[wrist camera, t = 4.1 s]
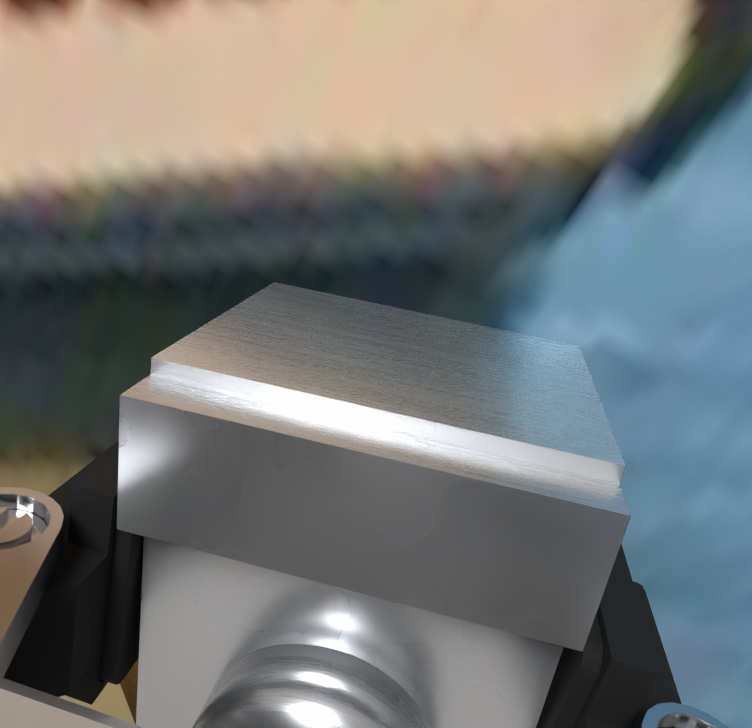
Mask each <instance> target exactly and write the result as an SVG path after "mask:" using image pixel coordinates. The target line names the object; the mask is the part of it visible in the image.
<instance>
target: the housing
mask: <svg viewBox="0 0 752 728" xmlns="http://www.w3.org/2000/svg"><path fill="white" fill-rule="evenodd" d="M624 469H625V463H624V460H623V458H622V455H621V453H620V450H619V447H618V445H617V442H616V440H615V437H614V434H613V432H612V429H611V427H610V424H609V421H608V419H607V416H606V414H605V411H604V408H603V406H602V403H601V401H600V398H599V395H598V393H597V390H596V388H595V385H594V382H593V380H592V377H591V375H590V372H589V370H588V367H587V364H586V362H585V359H584V357H583V354H582V351H581V349H580V346H577V345H573V344H568V343H563V342H558V341H553V340H549V339H544V338H539V337H534V336H529V335H525V334H520V333H515V332H510V331H505V330H501V329H496V328H491V327H486V326H481V325H477V324H472V323H467V322H462V321H457V320H453V319H448V318H443V317H438V316H434V315H429V314H424V313H419V312H414V311H410V310H405V309H400V308H395V307H390V306H386V305H381V304H376V303H371V302H366V301H362V300H357V299H352V298H347V297H342V296H338V295H333V294H328V293H323V292H318V291H314V290H309V289H304V288H299V287H295V286H290V285H285V284H280V283H275V282H274V283H272V284H271V285H269V286H267V287H266V288H264V289H262V290H261V291H259V292H258V293H256V294H254V295H253V296H251V297H249V298H248V299H246V300H245V301H243V302H241V303H240V304H238V305H236V306H235V307H233V308H231V309H230V310H228V311H227V312H225V313H223V314H222V315H220V316H218V317H217V318H215V319H214V320H212V321H210V322H209V323H207V324H205V325H204V326H202V327H200V328H199V329H197V330H196V331H194V332H192V333H191V334H189V335H187V336H186V337H184V338H183V339H181V340H179V341H178V342H176V343H174V344H173V345H171V346H169V347H168V348H166V349H165V350H163V351H161V352H160V353H158V354H156V355H155V356H153V357H152V358H151V375H150V376H148V377H146V378H145V379H143V380H142V381H140V382H139V383H137V384H136V385H134V386H133V387H131V388H130V389H128V390H127V391H125V392H124V393H122V394H121V395H120V418H119V459H118V500H117V529H118V530H122V531H126V532H130V533H134V534H137V535H141V536H144V544H143V568H142V591H141V615H140V639H139V662H138V686H137V709H136V725H138V726H141V727H144V728H536V726H537V723H538V720H539V717H540V714H541V712H542V709H543V706H544V703H545V700H546V697H547V694H548V691H549V688H550V685H551V682H552V679H553V676H554V674H555V671H556V668H557V665H558V662H559V659H560V656H561V653H562V650H563V647H567V648H571V649H574V650H578V651H582V652H583V649H584V646H585V643H586V641H587V638H588V635H589V632H590V629H591V627H592V624H593V621H594V618H595V615H596V613H597V610H598V607H599V604H600V601H601V599H602V596H603V593H604V590H605V587H606V584H607V582H608V579H609V576H610V573H611V570H612V568H613V565H614V562H615V559H616V556H617V554H618V551H619V548H620V545H621V542H622V540H623V537H624V534H625V531H626V528H627V526H628V523H629V520H630V517H631V515H630V512H629V509H628V506H627V503H626V500H625V497H624V495H623V492H622V489H621V486H620V481H621V478H622V475H623V472H624Z"/></svg>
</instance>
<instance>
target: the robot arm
mask: <svg viewBox="0 0 752 728" xmlns="http://www.w3.org/2000/svg"><path fill="white" fill-rule="evenodd" d="M118 459H119V441H118V442H117V443H115V444H114V445H113V446H112V447H110V448H109V449H108V450H106V451H105V452H104V453H103V454H101V455H100V456H99V457H97V458H96V459H95V460H94V461H92V462H91V463H90V464H88V465H87V466H86V467H85V468H83V469H82V470H81V471H79V472H78V473H77V474H76V475H74V476H73V477H72V478H70V479H69V480H68V481H67V482H65V483H64V484H63V485H61V486H60V487H59V488H58V489H56V490H55V491H54V492H52V493H51V494H50V495H49V496H47V495H45V494H43V493H41V492H38V491H34V490H29V489H25V488H10V487H1V488H0V728H144V727H141V726H138V725H135V724H133V723H130V722H127V721H124V720H121V719H118V718H116V717H113V716H110V715H107V714H104V713H101V712H99V711H96V710H93V709H90V708H87V707H84V706H82V705H79V704H76V703H73V702H70V701H67V700H64V699H62V698H59V697H61V696H64V695H65V696H68V697H71V698H74V699H77V700H79V701H82V702H85V703H88V704H91V705H92V704H93V703H94V701H95V700H96V698H97V697H98V696H99V694H100V693H101V692H102V690H103V689H104V687H105V686H106V685H107V683H108V682H109V683H112V684H115V685H118V684H119V683H121V682H122V680H123V679H124V678H125V677H126V675H127V674H128V672H129V671H130V670H131V668H132V667H133V665H134V664H135V662H136V661H137V660H138V658H139V639H140V615H141V591H142V568H143V544H144V536H141V535H137V534H134V533H130V532H126V531H122V530H118V529H117V500H118ZM536 728H729V727H728V726H726V725H724V724H723V723H721V722H720V721H718V720H717V719H715V718H714V717H712V716H711V715H709V714H707V713H705V712H702V711H700V710H698V709H696V708H693V707H691V706H688V705H683V704H681V701H680V698H679V695H678V692H677V689H676V685H675V682H674V679H673V676H672V673H671V670H670V667H669V664H668V661H667V657H666V654H665V651H664V648H663V645H662V642H661V639H660V636H659V633H658V629H657V626H656V623H655V620H654V617H653V614H652V611H651V608H650V605H649V602H648V598H647V595H646V592H645V590H644V588H643V586H642V585H640V584H639V583H636V582H633V581H632V578H631V575H630V571H629V568H628V565H627V561H626V558H625V555H624V551H623V548H622V545H620V548H619V551H618V554H617V556H616V559H615V562H614V565H613V568H612V570H611V573H610V576H609V579H608V582H607V584H606V587H605V590H604V593H603V596H602V599H601V601H600V604H599V607H598V610H597V613H596V615H595V618H594V621H593V624H592V627H591V629H590V632H589V635H588V638H587V641H586V643H585V646H584V649H583V652H582V651H578V650H574V649H571V648H567V647H563V650H562V653H561V656H560V659H559V662H558V665H557V668H556V671H555V674H554V676H553V679H552V682H551V685H550V688H549V691H548V694H547V697H546V700H545V703H544V706H543V709H542V712H541V714H540V717H539V720H538V723H537V726H536Z"/></svg>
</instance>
